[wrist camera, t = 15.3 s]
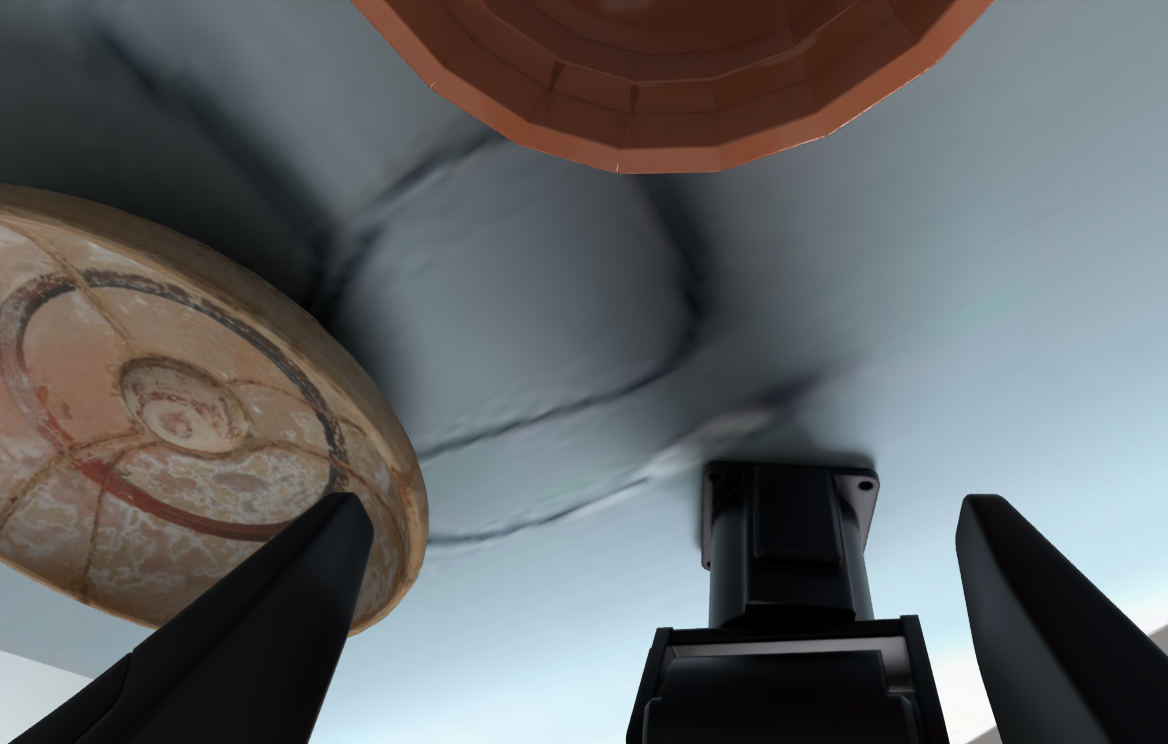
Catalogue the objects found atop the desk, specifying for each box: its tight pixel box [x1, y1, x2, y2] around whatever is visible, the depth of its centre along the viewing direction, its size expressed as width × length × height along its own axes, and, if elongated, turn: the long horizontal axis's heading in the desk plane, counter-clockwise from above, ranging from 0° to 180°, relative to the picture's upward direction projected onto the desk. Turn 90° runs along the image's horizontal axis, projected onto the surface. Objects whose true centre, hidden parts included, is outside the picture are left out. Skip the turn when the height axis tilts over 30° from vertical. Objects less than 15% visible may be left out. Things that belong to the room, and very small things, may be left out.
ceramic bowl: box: [0, 183, 429, 638], centre depth 29 cm, size 23×24×5 cm
